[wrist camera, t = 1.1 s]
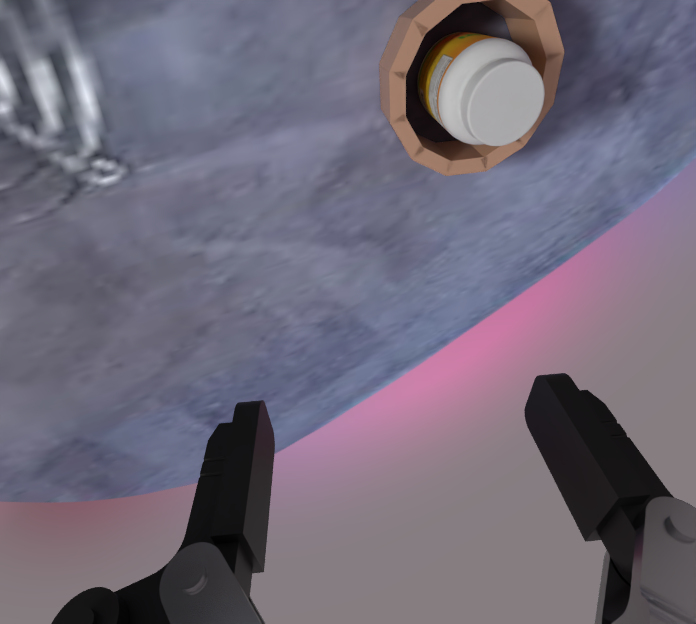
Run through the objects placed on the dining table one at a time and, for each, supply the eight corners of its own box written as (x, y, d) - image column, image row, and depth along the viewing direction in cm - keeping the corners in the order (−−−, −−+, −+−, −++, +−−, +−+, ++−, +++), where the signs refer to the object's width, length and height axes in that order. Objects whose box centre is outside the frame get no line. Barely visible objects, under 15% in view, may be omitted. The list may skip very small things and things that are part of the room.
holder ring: (376, -9, 24) (386, -11, 21) (543, -30, 24) (582, -35, 21) (382, 161, 31) (391, 182, 27) (514, 146, 31) (540, 164, 27)
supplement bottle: (505, 44, 27) (582, 60, 19) (471, 127, 30) (525, 169, 22) (432, 20, 26) (483, 27, 18) (405, 109, 29) (438, 147, 21)
